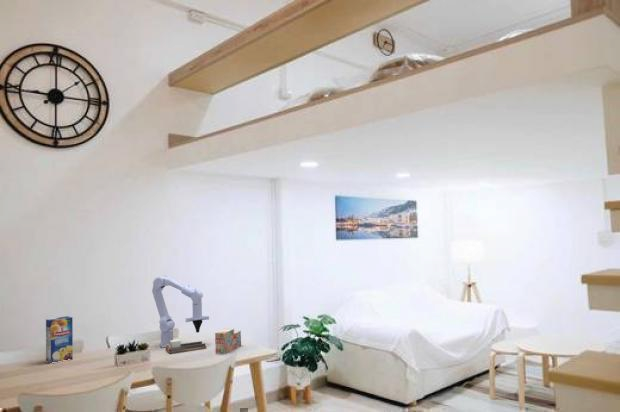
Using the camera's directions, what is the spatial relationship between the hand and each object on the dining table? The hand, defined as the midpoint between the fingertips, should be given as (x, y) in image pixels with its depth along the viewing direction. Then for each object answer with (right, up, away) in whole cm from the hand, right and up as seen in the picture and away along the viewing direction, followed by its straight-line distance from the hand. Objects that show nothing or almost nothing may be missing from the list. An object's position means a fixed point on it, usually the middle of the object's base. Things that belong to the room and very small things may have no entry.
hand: (197, 332), depth 306 cm
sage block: (-11, -7, -12) cm, 18 cm away
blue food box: (-73, -10, -27) cm, 79 cm away
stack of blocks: (+22, -8, -12) cm, 26 cm away
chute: (-5, -8, -9) cm, 13 cm away
